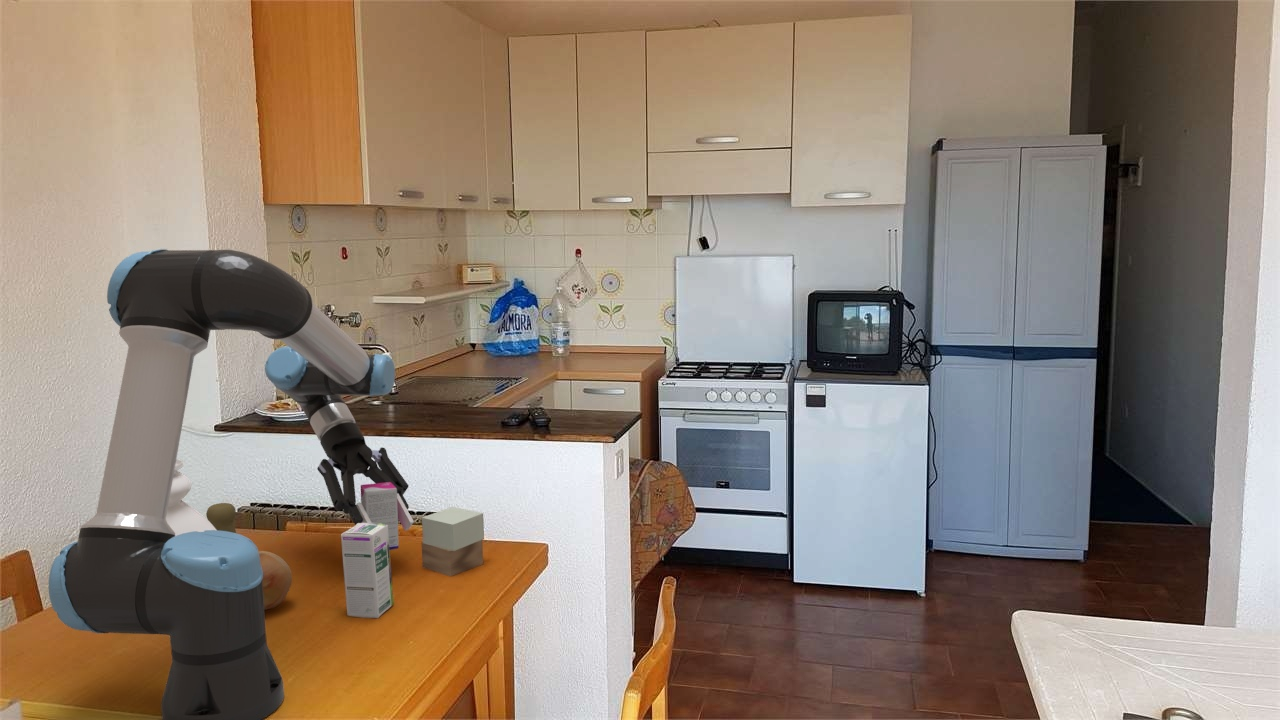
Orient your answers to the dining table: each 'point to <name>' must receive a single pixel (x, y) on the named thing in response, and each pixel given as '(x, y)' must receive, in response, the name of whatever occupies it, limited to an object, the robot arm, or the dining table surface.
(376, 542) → the syrup box
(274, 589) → the onion
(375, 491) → the supplement box
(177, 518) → the decorative vase
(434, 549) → the tower base slab
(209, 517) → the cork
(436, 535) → the tower top slab
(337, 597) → the dining table surface
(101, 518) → the robot arm
